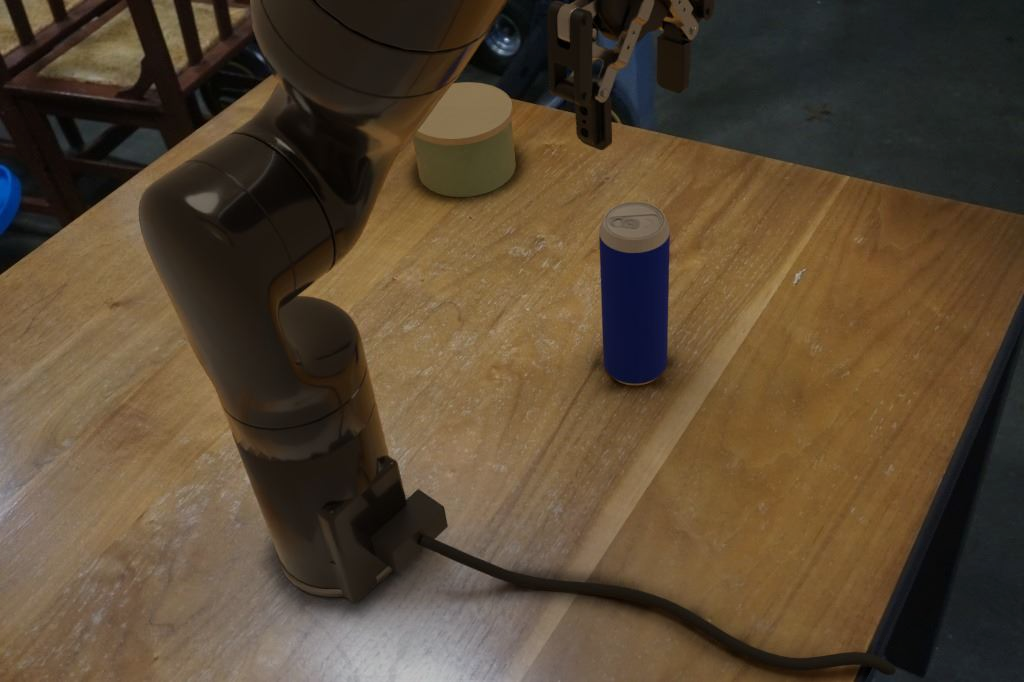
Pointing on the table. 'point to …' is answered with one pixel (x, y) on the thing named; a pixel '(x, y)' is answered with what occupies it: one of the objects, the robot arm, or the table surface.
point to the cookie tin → (467, 141)
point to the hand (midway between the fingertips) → (635, 115)
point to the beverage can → (634, 291)
